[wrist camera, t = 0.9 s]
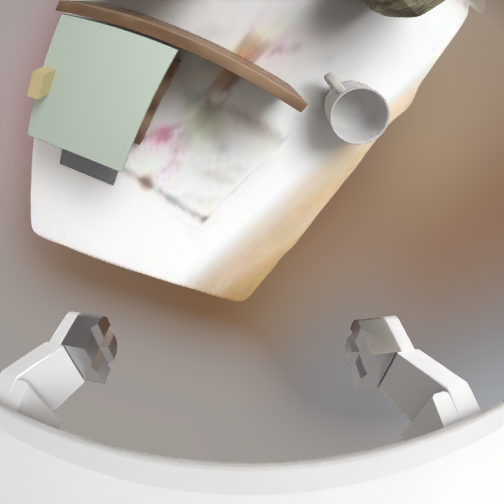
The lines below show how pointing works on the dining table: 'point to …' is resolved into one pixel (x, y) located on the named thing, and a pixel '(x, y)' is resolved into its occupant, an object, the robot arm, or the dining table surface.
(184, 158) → the dining table surface
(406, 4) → the grey handled block
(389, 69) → the dining table surface
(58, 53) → the slide cover
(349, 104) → the teacup
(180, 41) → the small wooden cabinet
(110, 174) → the rubber mat
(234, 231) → the dining table surface
